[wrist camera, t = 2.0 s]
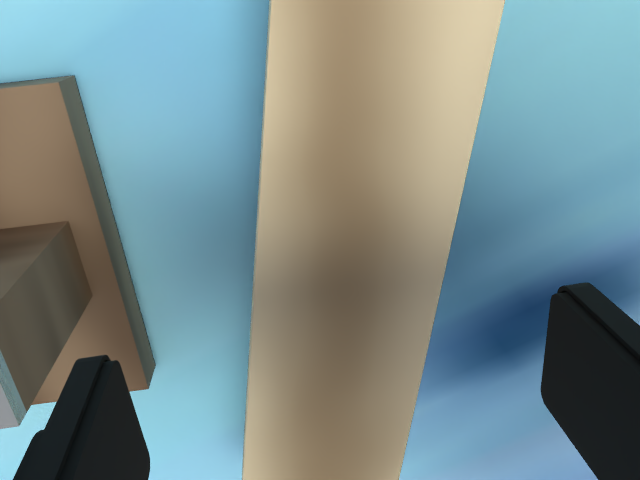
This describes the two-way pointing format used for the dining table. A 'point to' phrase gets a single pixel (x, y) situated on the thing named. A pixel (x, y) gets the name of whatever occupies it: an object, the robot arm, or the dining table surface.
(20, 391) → the stand
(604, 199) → the dining table surface
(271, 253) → the oak batten
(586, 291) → the robot arm
